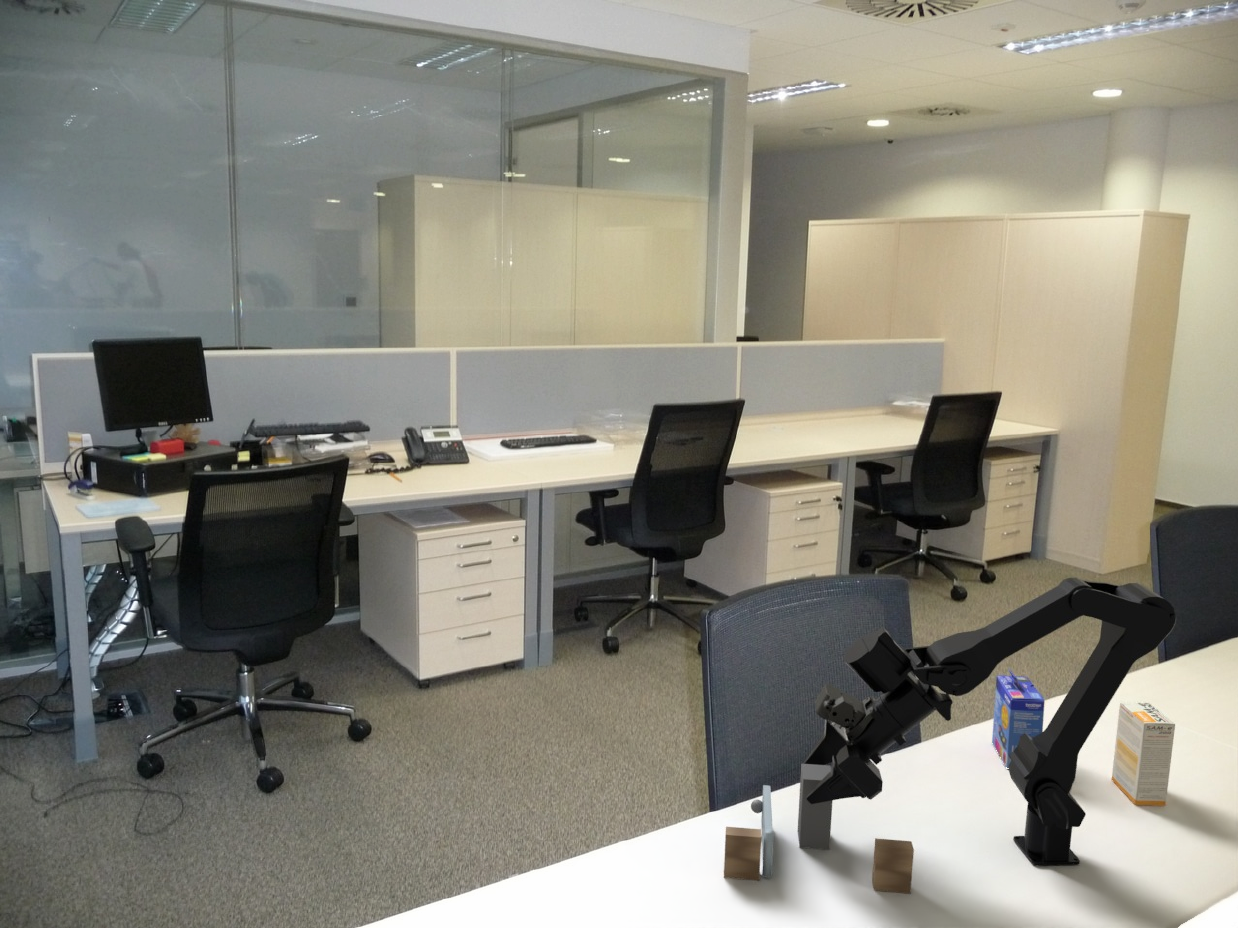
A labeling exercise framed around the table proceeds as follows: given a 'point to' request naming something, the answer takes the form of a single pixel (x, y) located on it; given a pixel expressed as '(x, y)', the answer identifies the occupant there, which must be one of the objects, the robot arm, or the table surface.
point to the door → (765, 829)
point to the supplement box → (1143, 753)
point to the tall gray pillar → (813, 810)
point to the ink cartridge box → (1015, 713)
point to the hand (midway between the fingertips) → (806, 784)
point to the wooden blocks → (887, 866)
